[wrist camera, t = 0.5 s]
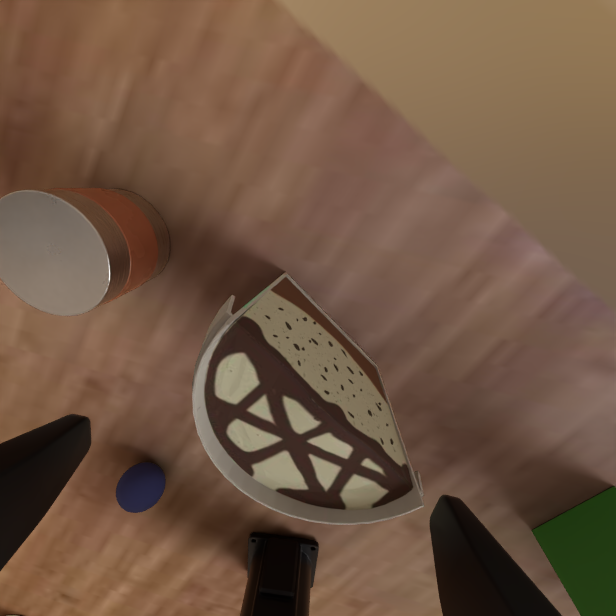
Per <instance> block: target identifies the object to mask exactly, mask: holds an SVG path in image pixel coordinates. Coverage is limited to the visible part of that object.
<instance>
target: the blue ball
mask: <svg viewBox="0 0 616 616" xmlns="http://www.w3.org/2000/svg"><path fill="white" fill-rule="evenodd" d="M164 489H165V475H164V473H163V471H162V469H161V468H160V467H159V466H157V465H156V464H153V463H149V462H144V463H139V464H136V465H134V466H132V467H131V468H129V469H128V470H127V471H126V472H125V473H124V474H123V475H122V477H121V478H120V480H119V482H118V485H117V488H116V498H117V501H118V503H119V505H120V506H121V507H122V508H123V509H124V510H126V511H128V512H132V513H138V512H143V511H145V510H147V509H149V508H151V507H152V506H154V505H155V504H156V503H157V502H158V500H159V499H160V498H161V496H162V494H163V492H164Z"/></svg>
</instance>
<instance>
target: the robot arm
mask: <svg viewBox="0 0 616 616" xmlns="http://www.w3.org/2000/svg"><path fill="white" fill-rule="evenodd" d="M90 446H91V427H90V420H89V418H88V417H85V416H81V415H76V414H70V415H67V416H65V417H62V418H60V419H58V420H55V421H53V422H51V423H48V424H46V425H43V426H41V427H39V428H36V429H34V430H32V431H29V432H27V433H25V434H22V435H20V436H17V437H15V438H13V439H10V440H8V441H6V442H3V443H1V444H0V571H1V570H2V568H3V567H4V566H5V565H6V563H7V562H8V561H9V560H10V558H11V557H12V556H13V555H14V553H15V552H16V551H17V550H18V548H19V547H20V546H21V545H22V543H23V542H24V541H25V540H26V538H27V537H28V536H29V535H30V534H31V532H32V531H33V530H34V529H35V527H36V526H37V525H38V523H39V522H40V521H41V520H42V518H43V517H44V516H45V514H46V513H47V512H48V510H49V509H50V507H51V506H52V504H53V503H54V501H55V500H56V499H57V497H58V496H59V494H60V493H61V491H62V490H63V488H64V487H65V485H66V484H67V482H68V481H69V479H70V478H71V476H72V475H73V473H74V472H75V470H76V469H77V467H78V466H79V464H80V463H81V461H82V460H83V458H84V457H85V455H86V454H87V452H88V450H89V448H90ZM430 532H431V539H432V547H433V554H434V562H435V569H436V577H437V584H438V591H439V598H440V603H441V608H442V613H443V616H562V615H561V614H560V613H559V612H558V611H557V609H556V608H555V607H554V606H553V605H552V604H551V603H550V601H549V600H548V599H547V598H546V597H545V596H544V594H543V593H542V592H541V591H540V590H539V589H538V588H537V586H536V585H535V584H534V583H533V582H532V581H531V579H530V578H529V577H528V576H527V575H526V574H525V573H524V571H523V570H522V569H521V568H520V567H519V566H518V565H517V563H516V562H515V561H514V560H513V559H512V558H511V556H510V555H509V554H508V553H507V552H506V551H505V550H504V548H503V547H502V546H501V545H500V544H499V543H498V542H497V540H496V539H495V538H494V537H493V536H492V535H491V533H490V532H489V531H488V530H487V529H486V528H485V527H484V525H483V524H482V523H481V522H480V521H479V520H478V518H477V517H476V516H475V515H474V514H473V513H472V512H471V510H470V509H469V508H468V507H467V506H466V505H465V504H464V502H463V501H462V500H461V499H459V498H457V497H453V496H449V495H442V496H441V497H440V498H439V500H438V502H437V504H436V506H435V508H434V510H433V512H432V514H431V517H430ZM318 548H319V544H318V542H316V541H313V540H305V539H298V538H290V537H283V536H275V535H268V534H260V533H251V534H250V536H249V542H248V581H247V585H246V590H245V595H244V599H243V604H242V609H241V613H240V616H309V603H310V588H312V587H313V582H314V576H315V569H316V562H317V556H318Z"/></svg>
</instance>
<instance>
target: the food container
mask: <svg viewBox="0 0 616 616" xmlns="http://www.w3.org/2000/svg"><path fill="white" fill-rule="evenodd" d="M234 299H235V296H233V295H231V296H230V297H229V299H228V300H227V301H226V302H225V303H224V305H223V306H222V307H221V308H220V309H219V311H218V313H217V314H216V316H215V318H214V319H213V321H212V323H211V325H210V326H209V328H208V331H207V334H206V336H205V339H204V342H203V345H202V348H201V350H200V353H199V356H198V359H197V361H196V364H195V370H194V376H193V383H192V388H193V394H192V397H193V415H194V420H195V424H196V429H197V432H198V435H199V437H200V440H201V442H202V444H203V447H204V449H205V450H206V452H207V454H208V455H209V457H210V458H211V460H212V462H213V463H214V465H215V466H216V467H217V468H218V469H219V470H220V472H221V473H222V474H223V475H224V476H225V478H226V479H228V480H229V481H230V482H231V483H232V484H233V485H234V486H235V487H237V488H238V489H239V490H240V491H242V492H243V493H244V494H246V495H247V496H249V497H250V498H252V499H253V500H255V501H256V502H258V503H260V504H262V505H264V506H266V507H268V508H270V509H272V510H274V511H277V512H280V513H282V514H285V515H288V516H290V517H294V518H298V519H302V520H306V521H310V522H317V523H324V524H336V525H355V524H368V523H374V522H379V521H385V520H389V519H393V518H396V517H399V516H402V515H405V514H408V513H410V512H413V511H415V510H417V509H419V508H422V507H424V503H423V500H422V497H423V496H424V494H423V488H422V483H421V478H420V473H419V472H418V471H416V472H413V469H412V466H411V463H410V460H409V457H408V454H407V451H406V448H405V445H404V442H403V439H402V436H401V433H400V430H399V427H398V424H397V421H396V418H395V415H394V412H393V409H392V406H391V403H390V401H389V398H388V395H387V392H386V389H385V386H384V383H383V380H382V377H381V374H380V371H379V368H378V366H377V365H376V364H375V363H374V362H373V361H372V360H371V359H370V358H369V357H368V356H367V355H366V354H365V353H364V352H363V351H362V349H361V348H360V347H359V346H358V345H357V344H356V343H355V342H354V341H353V340H352V339H351V338H350V337H349V336H348V335H347V334H346V333H345V332H344V331H343V330H342V329H341V328H340V327H339V326H338V325H337V324H336V323H335V322H334V321H333V320H332V319H331V318H330V317H329V316H328V315H327V314H326V313H325V312H324V311H323V310H322V309H321V308H320V307H319V306H318V304H317V303H316V302H315V301H314V300H313V299H312V298H311V297H310V296H309V295H308V294H307V293H306V292H305V291H304V290H303V289H302V288H301V287H300V286H299V285H298V284H297V283H296V282H295V281H294V280H293V279H292V278H291V277H290V276H289V275H288V274H287V273H286V272H285V273H283V274H282V275H281V276H280V277H279V278H277V279H276V280H275V281H274V282H273V283H271V284H270V285H269V286H268V287H267V288H265V289H264V290H263V291H262V292H260V293H259V294H258V295H257V296H256V297H254V298H253V299H252V300H251V301H250V302H248V303H247V304H246V305H245V306H244V307H242V308H241V309H240V310H239V311H237V312H236V313H235V314H234V315H233V314H232V313H231V310H232V306H233V303H234Z"/></svg>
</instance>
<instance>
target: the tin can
mask: <svg viewBox="0 0 616 616" xmlns="http://www.w3.org/2000/svg"><path fill="white" fill-rule="evenodd" d="M169 253H170V240H169V234H168V231H167V228H166V225H165V223H164V221H163V219H162V218H161V216H160V215H159V213H158V212H157V211H156V210H155V208H154V207H153V206H152V205H151V204H150V203H148V202H147V201H146V200H145V199H143V198H142V197H140V196H138V195H137V194H134V193H132V192H129V191H126V190H122V189H102V188H53V189H35V190H19V191H15V192H12V193H9V194H7V195H5V196H4V197H2V198H1V199H0V278H1V280H2V281H3V282H4V283H5V285H6V286H7V287H8V288H9V289H10V290H11V291H12V292H13V293H14V294H15V295H16V296H18V297H19V298H20V299H21V300H23V301H24V302H26V303H27V304H29V305H30V306H32V307H34V308H36V309H38V310H41V311H43V312H46V313H49V314H53V315H59V316H76V315H80V314H84V313H86V312H89V311H91V310H93V309H95V308H97V307H99V306H100V305H102V304H105V303H108V302H110V301H112V300H114V299H116V298H118V297H120V296H122V295H124V294H126V293H128V292H130V291H132V290H134V289H135V288H137V287H139V286H141V285H142V284H144V283H145V282H147V281H149V280H151V279H153V278H155V277H156V276H157V275H158V274H159V273H160V272H161V271H162V270H163V269H164V267H165V265H166V263H167V261H168V258H169Z"/></svg>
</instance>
